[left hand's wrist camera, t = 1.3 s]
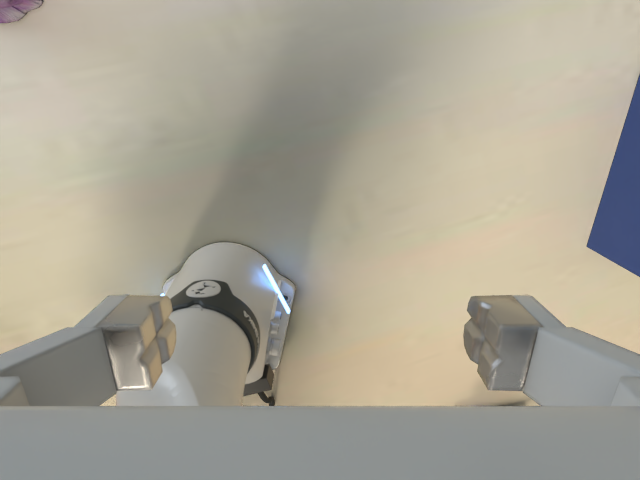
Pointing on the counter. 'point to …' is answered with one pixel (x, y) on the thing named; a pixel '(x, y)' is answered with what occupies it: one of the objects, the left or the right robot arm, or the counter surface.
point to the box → (622, 199)
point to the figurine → (16, 9)
